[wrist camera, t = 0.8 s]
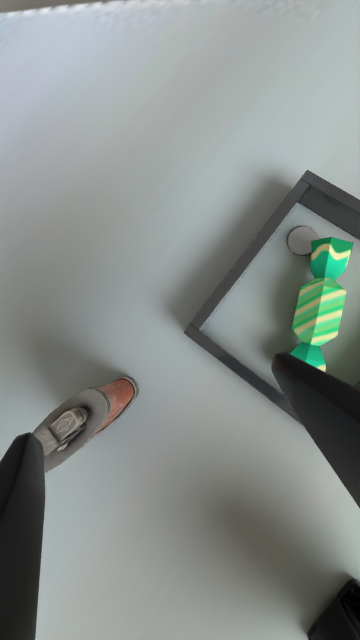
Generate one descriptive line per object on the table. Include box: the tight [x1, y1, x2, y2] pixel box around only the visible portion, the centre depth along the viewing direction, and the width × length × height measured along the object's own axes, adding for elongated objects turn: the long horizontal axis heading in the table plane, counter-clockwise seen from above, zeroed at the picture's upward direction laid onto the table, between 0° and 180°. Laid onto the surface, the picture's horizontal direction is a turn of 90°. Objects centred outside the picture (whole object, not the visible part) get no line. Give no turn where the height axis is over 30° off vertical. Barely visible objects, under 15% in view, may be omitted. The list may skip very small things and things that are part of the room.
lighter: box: [32, 376, 139, 473], centre depth 21 cm, size 8×3×10 cm, turn 132°
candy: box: [290, 237, 353, 372], centre depth 22 cm, size 12×3×4 cm
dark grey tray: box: [183, 170, 360, 426], centre depth 22 cm, size 16×18×3 cm
